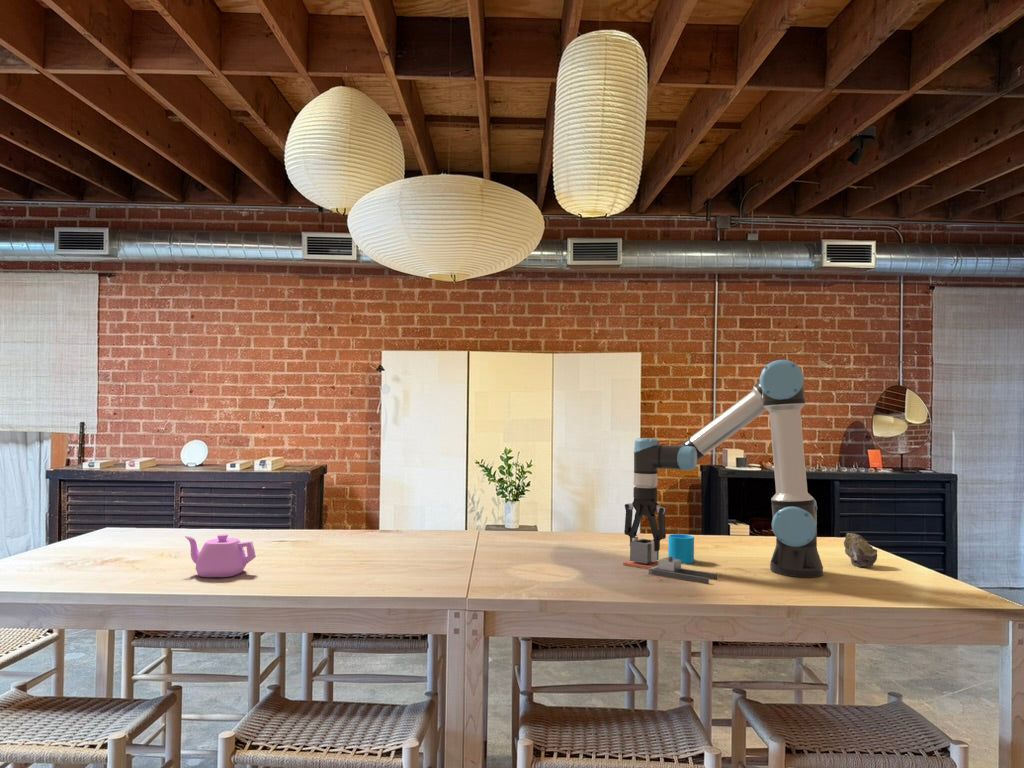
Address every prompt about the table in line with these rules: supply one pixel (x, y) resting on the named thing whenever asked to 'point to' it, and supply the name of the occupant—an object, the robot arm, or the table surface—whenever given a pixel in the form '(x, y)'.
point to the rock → (859, 550)
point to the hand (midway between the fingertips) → (644, 559)
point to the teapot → (221, 556)
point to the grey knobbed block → (670, 564)
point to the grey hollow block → (641, 551)
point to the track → (685, 575)
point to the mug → (681, 548)
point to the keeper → (641, 564)
